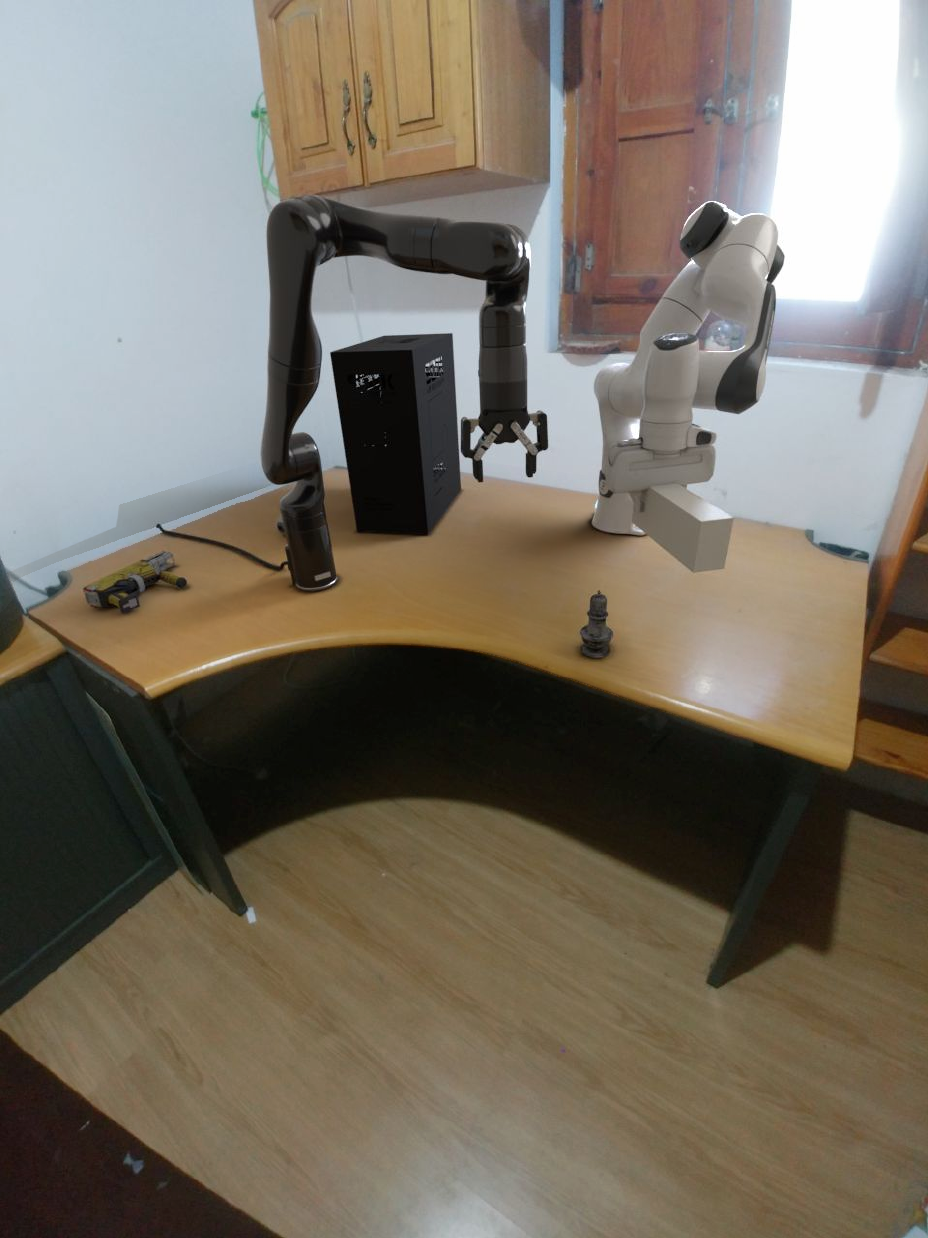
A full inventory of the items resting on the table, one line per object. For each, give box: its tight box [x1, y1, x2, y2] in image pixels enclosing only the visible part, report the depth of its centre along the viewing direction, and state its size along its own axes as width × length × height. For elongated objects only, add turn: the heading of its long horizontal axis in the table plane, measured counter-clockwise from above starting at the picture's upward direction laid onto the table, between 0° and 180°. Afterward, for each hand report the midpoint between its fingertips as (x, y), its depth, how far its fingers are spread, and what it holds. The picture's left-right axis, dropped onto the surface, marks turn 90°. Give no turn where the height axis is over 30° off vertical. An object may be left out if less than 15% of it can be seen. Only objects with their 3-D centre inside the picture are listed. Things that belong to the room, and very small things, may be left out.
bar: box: [632, 483, 735, 574], centre depth 107 cm, size 24×6×9 cm, turn 11°
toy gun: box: [82, 550, 188, 615], centre depth 138 cm, size 5×24×15 cm
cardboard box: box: [329, 332, 462, 536], centre depth 166 cm, size 38×20×45 cm, turn 167°
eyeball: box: [275, 513, 286, 535], centre depth 163 cm, size 6×6×6 cm
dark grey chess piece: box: [579, 589, 614, 659], centre depth 105 cm, size 6×6×12 cm
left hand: (504, 478), depth 102 cm, fingers open, 8 cm apart
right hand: (655, 509), depth 114 cm, fingers closed on bar, 5 cm apart
